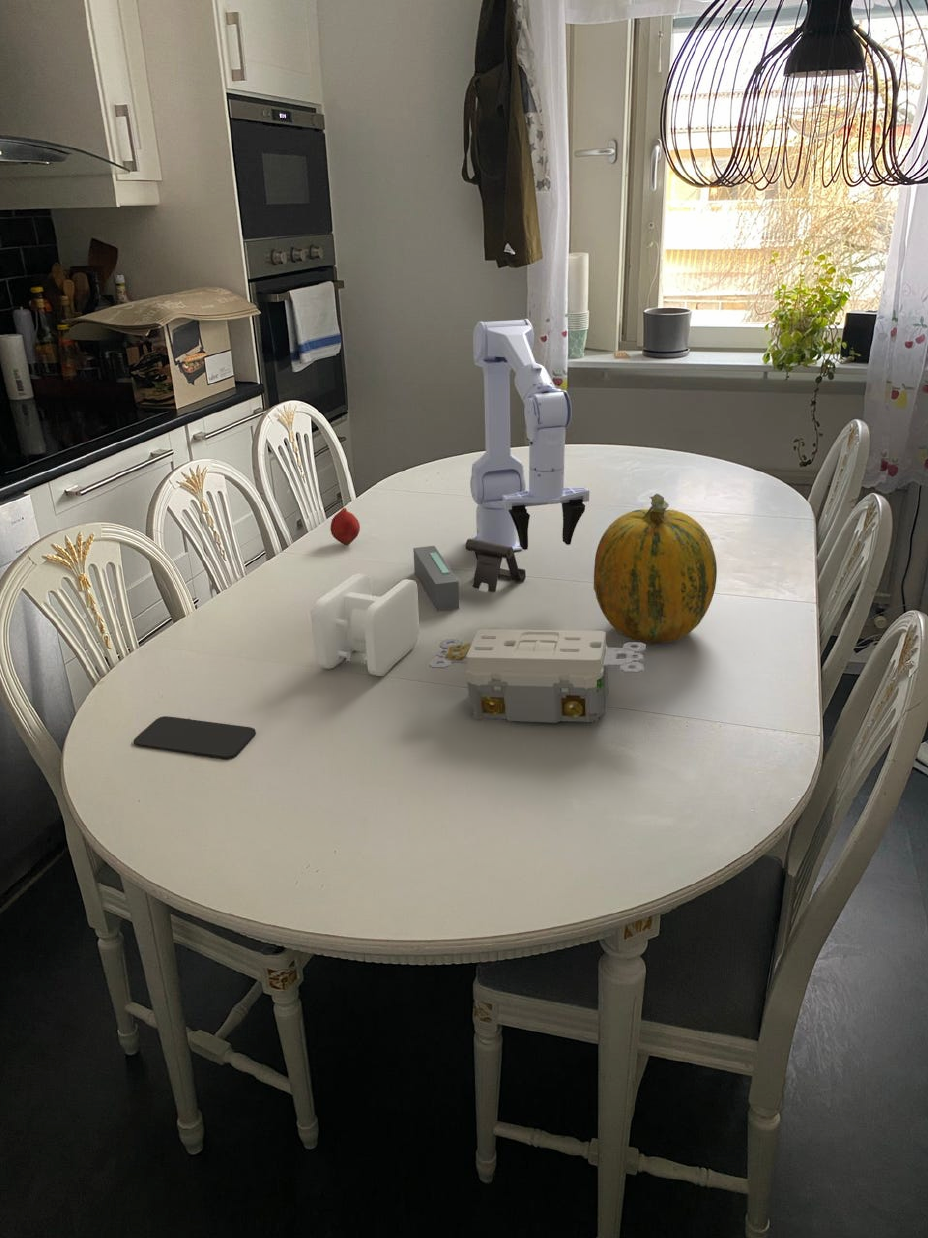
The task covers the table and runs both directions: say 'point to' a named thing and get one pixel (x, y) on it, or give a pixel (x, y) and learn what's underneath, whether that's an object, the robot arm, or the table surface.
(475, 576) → the portable electronic device stand
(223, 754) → the phone
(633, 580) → the pumpkin
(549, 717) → the electrical outlet
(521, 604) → the table surface
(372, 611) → the cable organizer
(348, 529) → the onion
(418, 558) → the charging dock
